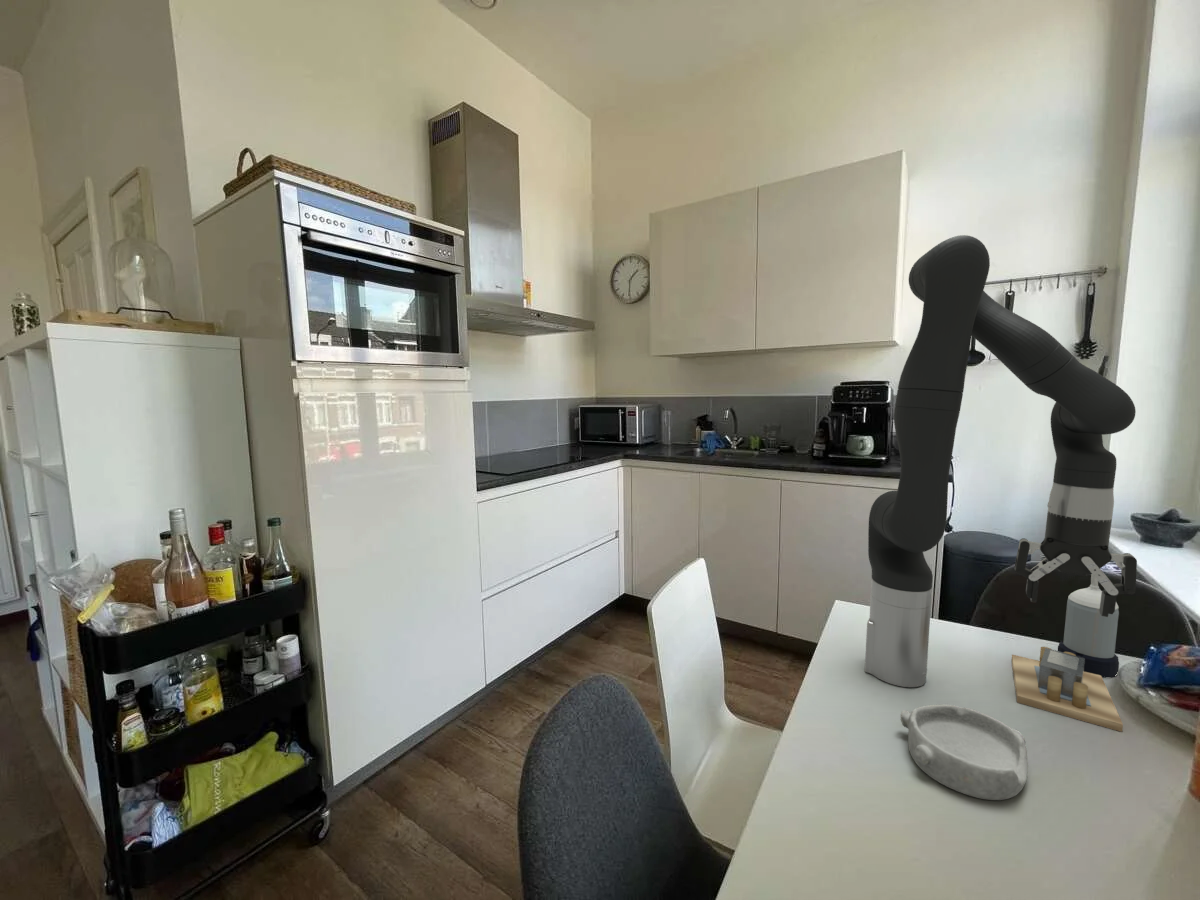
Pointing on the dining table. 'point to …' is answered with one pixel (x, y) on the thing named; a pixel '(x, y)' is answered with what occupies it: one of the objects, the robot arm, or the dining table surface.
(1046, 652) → the block
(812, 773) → the dining table surface
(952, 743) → the dish
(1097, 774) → the dining table surface
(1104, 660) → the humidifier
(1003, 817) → the dining table surface
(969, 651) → the dining table surface
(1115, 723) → the wooden peg board
